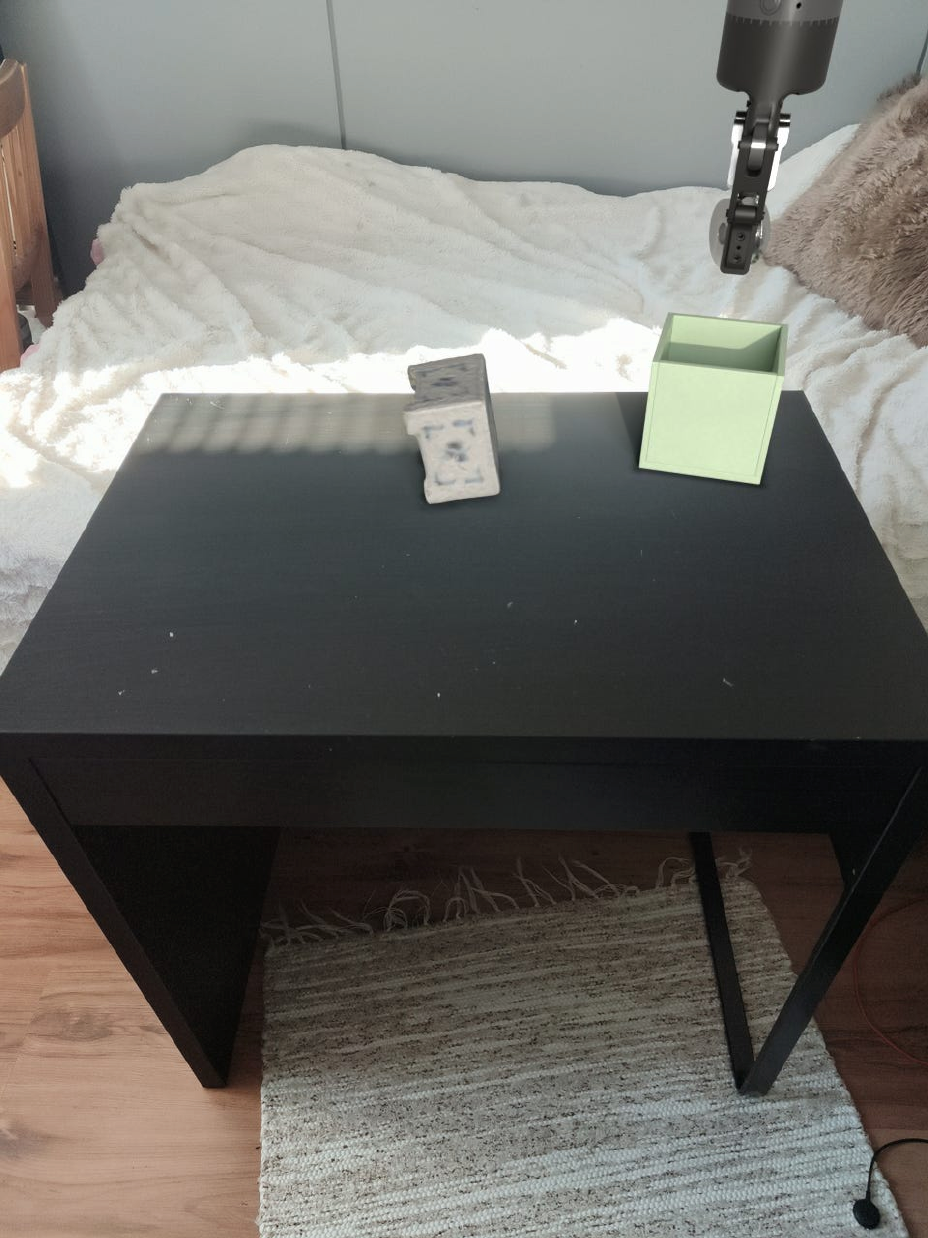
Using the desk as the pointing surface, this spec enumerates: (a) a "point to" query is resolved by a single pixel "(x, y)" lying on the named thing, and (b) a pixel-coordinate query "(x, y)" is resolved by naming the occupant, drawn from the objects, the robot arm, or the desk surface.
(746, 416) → the waste bin
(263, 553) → the desk surface
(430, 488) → the incense holder
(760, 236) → the metal grooved wheel
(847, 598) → the desk surface
